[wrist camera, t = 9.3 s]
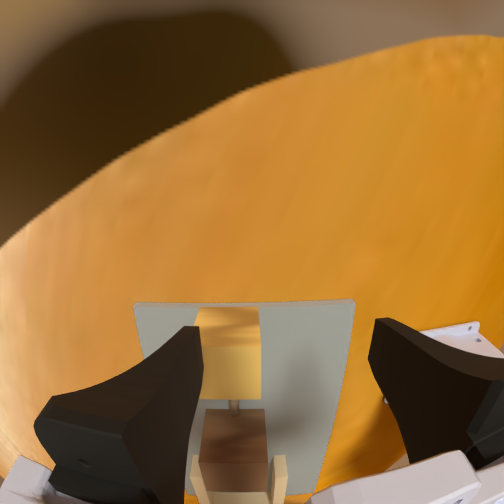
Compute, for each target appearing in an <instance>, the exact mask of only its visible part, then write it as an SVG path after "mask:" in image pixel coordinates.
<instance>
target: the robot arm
mask: <svg viewBox="0 0 504 504" xmlns="http://www.w3.org/2000/svg"><path fill="white" fill-rule="evenodd" d="M479 326H480V323H479V322H477V321H474V322H469V323H464V324H459V325H454V326H449V327H443V328H438V329H432V330H425V331H419V332H418V331H416V330H414V329H412V328H410V327H408V326H406V325H404V324H402V323H400V322H398V321H396V320H394V319H391V318H378V319H375V325H374V330H373V335H372V341H371V346H370V350H369V355H368V361H369V364H370V367H371V370H372V372H373V375H374V378H375V380H376V382H377V383H378V385H379V387H380V389H381V391H382V393H383V395H384V397H385V398H384V402H385V403H386V404H389V406H390V408H391V410H392V412H393V414H394V416H395V418H396V420H397V423H398V426H399V429H400V431H401V434H402V437H403V441H404V444H405V447H406V451H407V454H408V458H409V463H410V464H409V465H406V466H403V467H399V468H396V469H392V470H389V471H385V472H381V473H377V474H373V475H368V476H364V477H359V478H354V479H351V480H348V481H344V482H341V483H337V484H334V485H331V486H329V487H327V488H325V489H323V490H321V491H319V492H317V493H315V494H313V495H312V496H311V497H310V499H309V500H308V501H307V502H306V503H305V504H504V355H503V354H502V353H501V352H500V351H499V350H498V349H497V348H496V347H495V346H493V345H492V344H491V343H490V342H489V341H488V340H487V339H486V338H484V337H483V336H482V335H481V334H480V333H479V332H478V330H479ZM203 372H204V363H203V355H202V347H201V338H200V329H199V326H183V327H182V328H181V329H180V330H179V331H178V332H177V333H176V334H175V335H173V336H172V337H171V338H170V339H169V340H168V341H167V342H166V343H164V344H163V345H162V346H161V347H160V348H159V349H157V350H156V351H155V352H154V353H152V354H151V355H150V356H148V357H147V358H146V359H144V360H143V361H142V362H140V363H139V364H137V365H136V366H134V367H132V368H131V369H129V370H127V371H125V372H124V373H122V374H120V375H118V376H115V377H113V378H111V379H109V380H107V381H105V382H102V383H100V384H97V385H94V386H92V387H89V388H85V389H82V390H79V391H75V392H70V393H66V394H61V395H56V396H52V397H51V398H50V400H49V401H48V403H47V404H46V405H45V407H44V408H43V410H42V411H41V413H40V414H39V416H38V417H37V418H36V420H35V422H34V430H35V433H36V436H37V437H38V439H39V441H40V443H41V444H42V446H43V447H44V448H45V450H46V451H47V453H48V454H49V455H50V457H51V458H52V460H53V461H54V462H55V464H56V466H55V468H54V470H53V471H52V470H50V469H49V468H48V467H46V466H44V465H42V464H40V463H38V462H35V461H33V460H31V459H28V458H26V457H24V456H21V455H19V457H18V458H17V460H16V462H15V463H14V465H13V467H12V468H11V470H10V472H9V473H8V475H7V477H6V479H5V480H4V482H3V484H2V486H1V488H0V504H184V491H185V475H186V464H187V454H188V446H189V438H190V432H191V428H192V424H193V420H194V416H195V412H196V408H197V404H198V400H199V396H200V392H201V388H202V381H203Z"/></svg>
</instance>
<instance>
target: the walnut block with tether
mask: <svg viewBox="0 0 504 504" xmlns="http://www.w3.org/2000/svg"><path fill="white" fill-rule="evenodd" d="M194 326H199V329H200V338H201V347H202V355H203V363H204V372H203V381H202V388H201V392H200V396H199V399H220V400H229V406H230V409H206V412H205V419H204V425H203V432H202V439H201V446H200V453H199V460H198V463H199V467H200V470H201V474H202V477H203V481H204V484H205V488H206V491H216V492H267V478H268V452H267V438H266V423H265V409H239V400H250V399H261V338H260V325H259V312H258V306H249V307H200V308H199V311H198V314H197V317H196V320H195V324H194Z"/></svg>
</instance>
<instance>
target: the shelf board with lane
mask: <svg viewBox="0 0 504 504" xmlns="http://www.w3.org/2000/svg"><path fill="white" fill-rule="evenodd" d="M355 304H356V303H355V302H354V300H353V299H339V300H319V301H296V302H264V303H145V302H136V304H135V305H134V306H133V309H134V314H135V320H136V325H137V330H138V334H139V339H140V344H141V348H142V353H143V357H144V359H146V358H147V357H148V356H150V355H151V354H152V353H154V352H155V351H156V350H157V349H159V348H160V347H161V346H162V345H163V344H164V343H166V342H167V341H168V340H169V339H170V338H171V337H172V336H173V335H175V334H176V333H177V332H178V331H179V330H180V329H181V328H182V327H183V326H194V324H195V320H196V317H197V314H198V311H199V308H200V307H249V306H258V312H259V325H260V338H261V399H250V400H239V409H265V423H266V438H267V452H268V478H267V492H216V491H206V488H205V484H204V481H203V477H202V474H201V470H200V467H199V463H198V460H199V453H200V446H201V439H202V432H203V425H204V419H205V412H206V409H230V406H229V400H220V399H199V400H198V404H197V408H196V412H195V416H194V420H193V424H192V428H191V432H190V438H189V446H188V454H187V464H186V475H185V489H186V491H187V494H188V495H197V498H198V501H199V503H200V504H284V499H285V496H287V495H298V494H307V493H314V490H315V487H316V484H317V481H318V478H319V474H320V471H321V468H322V464H323V461H324V457H325V454H326V450H327V447H328V443H329V439H330V435H331V431H332V427H333V423H334V419H335V415H336V411H337V406H338V402H339V397H340V393H341V388H342V383H343V378H344V373H345V368H346V362H347V357H348V351H349V345H350V339H351V333H352V326H353V319H354V312H355Z"/></svg>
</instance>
